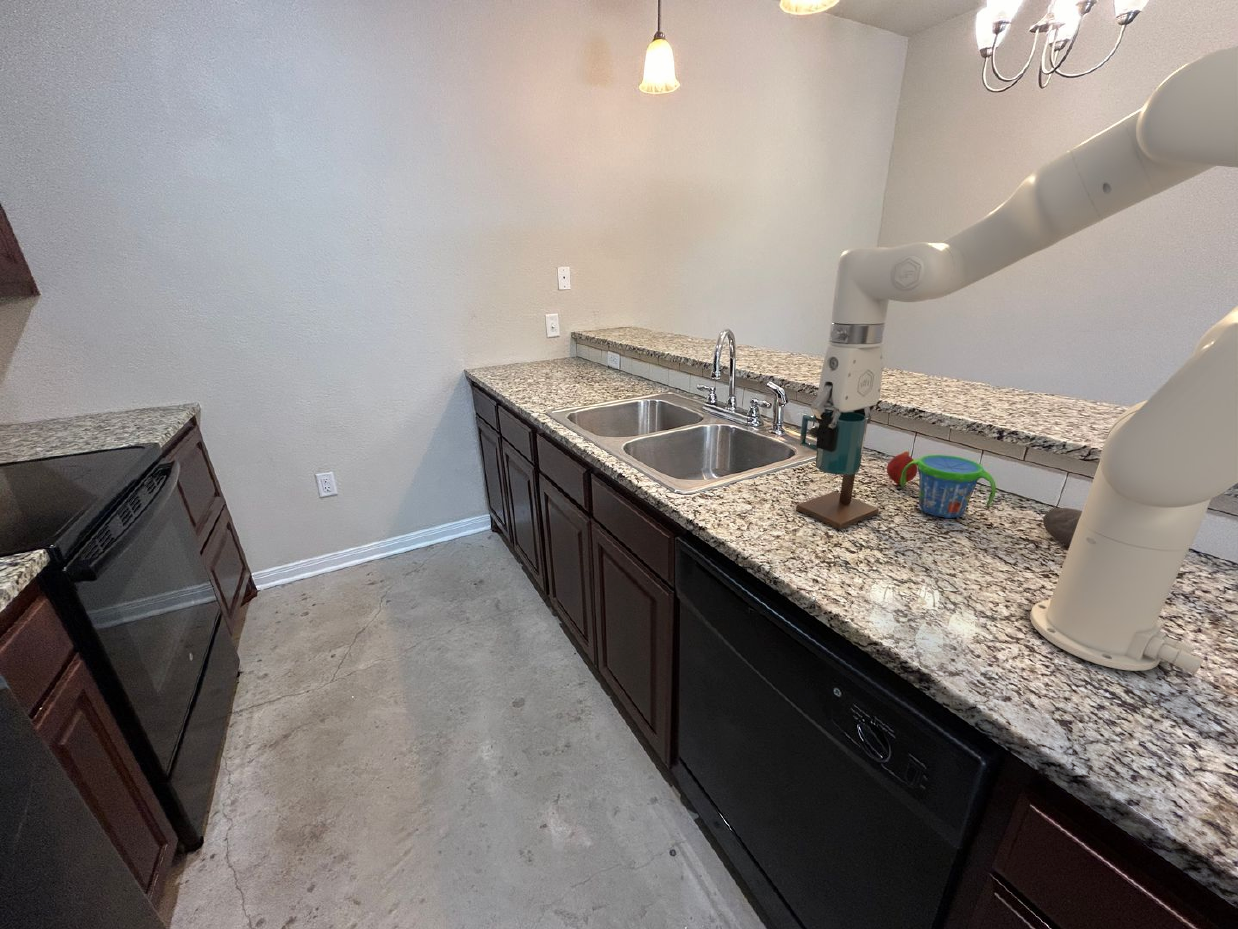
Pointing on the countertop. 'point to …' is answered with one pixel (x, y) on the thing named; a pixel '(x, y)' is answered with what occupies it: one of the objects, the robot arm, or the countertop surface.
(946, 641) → the countertop surface
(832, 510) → the mug rack
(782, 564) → the countertop surface
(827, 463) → the mug
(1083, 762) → the countertop surface
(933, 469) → the snack cup
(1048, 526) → the perforated stone tool
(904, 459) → the onion
